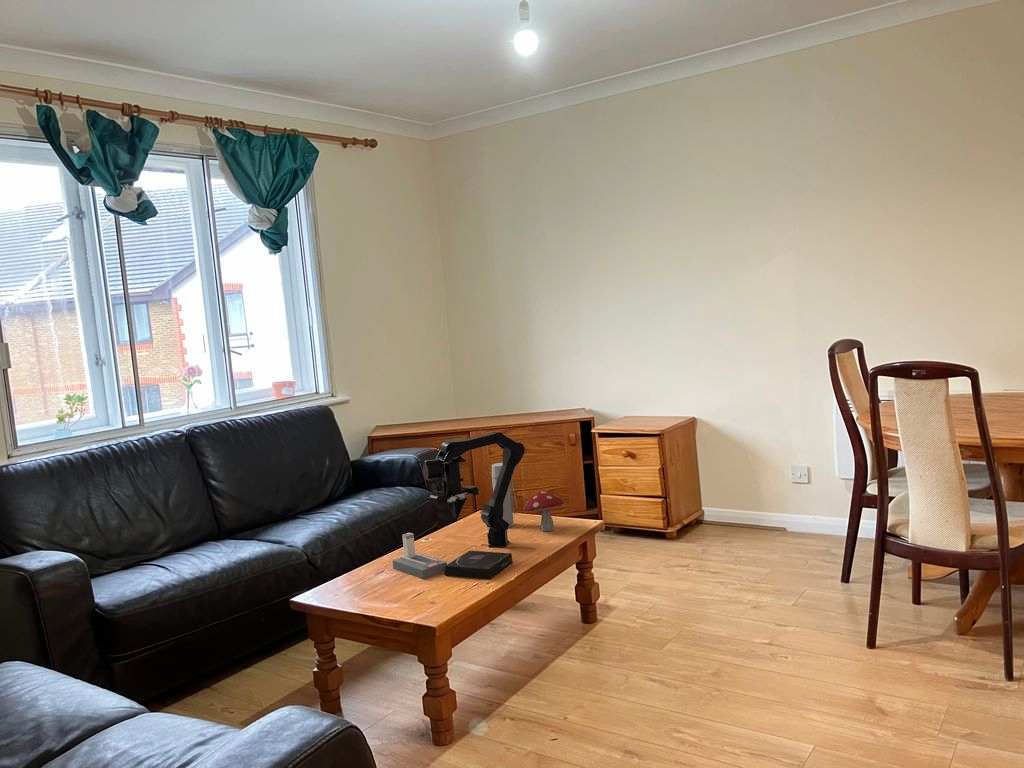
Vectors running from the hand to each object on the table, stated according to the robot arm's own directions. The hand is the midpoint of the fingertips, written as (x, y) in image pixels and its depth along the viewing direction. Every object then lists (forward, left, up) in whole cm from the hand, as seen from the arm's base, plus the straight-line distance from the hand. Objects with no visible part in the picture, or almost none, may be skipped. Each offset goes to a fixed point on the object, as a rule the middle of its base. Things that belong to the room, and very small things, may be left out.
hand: (456, 518), depth 286 cm
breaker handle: (+13, +14, -10) cm, 21 cm away
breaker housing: (+9, +17, -13) cm, 23 cm away
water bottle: (-9, -35, -13) cm, 39 cm away
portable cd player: (-12, +17, -14) cm, 25 cm away
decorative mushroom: (-26, -28, -13) cm, 41 cm away
